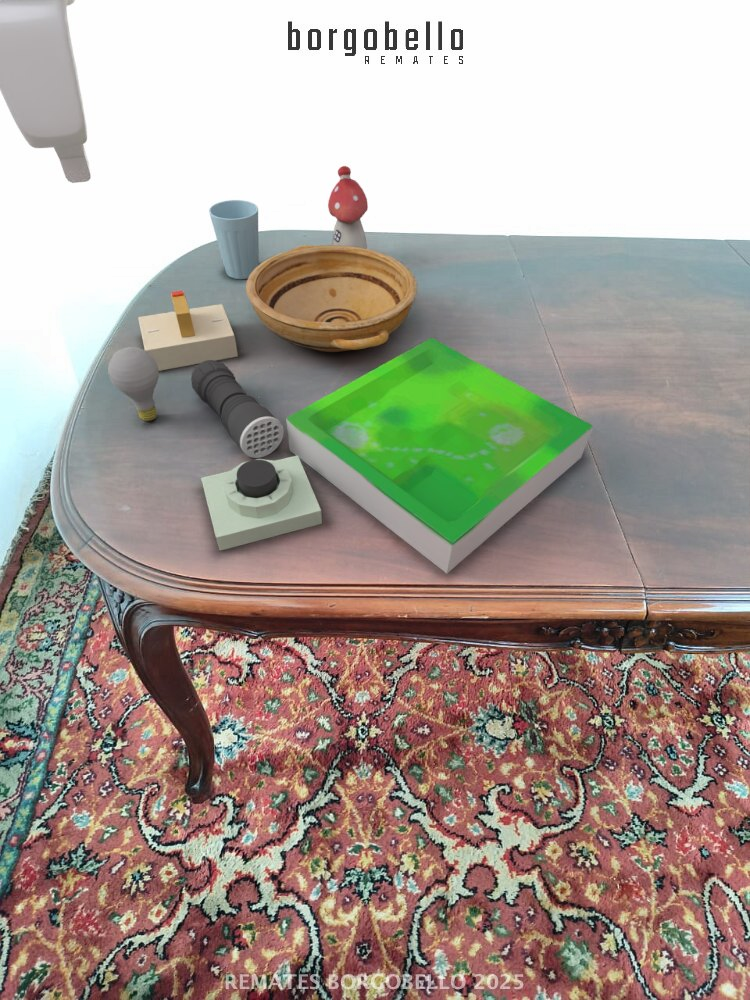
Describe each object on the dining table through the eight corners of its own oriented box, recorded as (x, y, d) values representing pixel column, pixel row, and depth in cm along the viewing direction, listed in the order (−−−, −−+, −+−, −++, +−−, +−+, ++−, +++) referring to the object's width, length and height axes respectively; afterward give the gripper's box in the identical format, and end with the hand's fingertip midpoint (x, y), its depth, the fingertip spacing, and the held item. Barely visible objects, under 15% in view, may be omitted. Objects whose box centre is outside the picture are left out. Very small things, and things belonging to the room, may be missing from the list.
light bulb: (159, 436, 72) (137, 368, 65) (118, 429, 73) (92, 360, 66) (179, 409, 76) (160, 341, 68) (140, 402, 77) (117, 334, 69)
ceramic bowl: (449, 369, 83) (456, 318, 78) (283, 406, 77) (277, 353, 71) (371, 275, 102) (372, 228, 96) (232, 298, 95) (224, 249, 89)
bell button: (243, 502, 60) (240, 490, 59) (235, 476, 63) (232, 464, 62) (281, 492, 61) (279, 481, 60) (272, 467, 64) (270, 455, 63)
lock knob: (195, 335, 81) (189, 310, 78) (181, 337, 81) (175, 312, 78) (188, 313, 85) (183, 289, 82) (176, 315, 85) (170, 291, 82)
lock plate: (151, 372, 81) (144, 349, 78) (144, 338, 87) (137, 315, 84) (238, 356, 84) (234, 333, 82) (225, 324, 90) (221, 302, 87)
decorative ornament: (335, 251, 108) (333, 161, 97) (370, 254, 107) (372, 164, 96) (324, 275, 101) (321, 181, 90) (362, 278, 101) (363, 185, 90)
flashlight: (191, 398, 78) (182, 363, 74) (228, 384, 80) (222, 349, 76) (245, 464, 69) (238, 429, 65) (285, 447, 71) (281, 411, 67)
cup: (269, 279, 100) (261, 216, 92) (223, 285, 98) (212, 221, 90) (261, 259, 105) (253, 198, 97) (217, 264, 103) (206, 202, 95)
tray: (428, 368, 83) (431, 337, 80) (581, 457, 72) (593, 426, 68) (289, 450, 71) (286, 418, 67) (446, 573, 59) (452, 542, 56)
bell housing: (219, 551, 61) (212, 526, 58) (204, 491, 66) (197, 465, 63) (322, 523, 63) (320, 498, 60) (299, 468, 69) (296, 443, 66)
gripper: (-41, -81, 42) (36, 138, 52) (-78, -51, 29) (34, 233, 39) (54, -80, 44) (111, 132, 54) (59, -51, 31) (133, 221, 41)
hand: (79, 175), depth 46 cm, fingers closed
